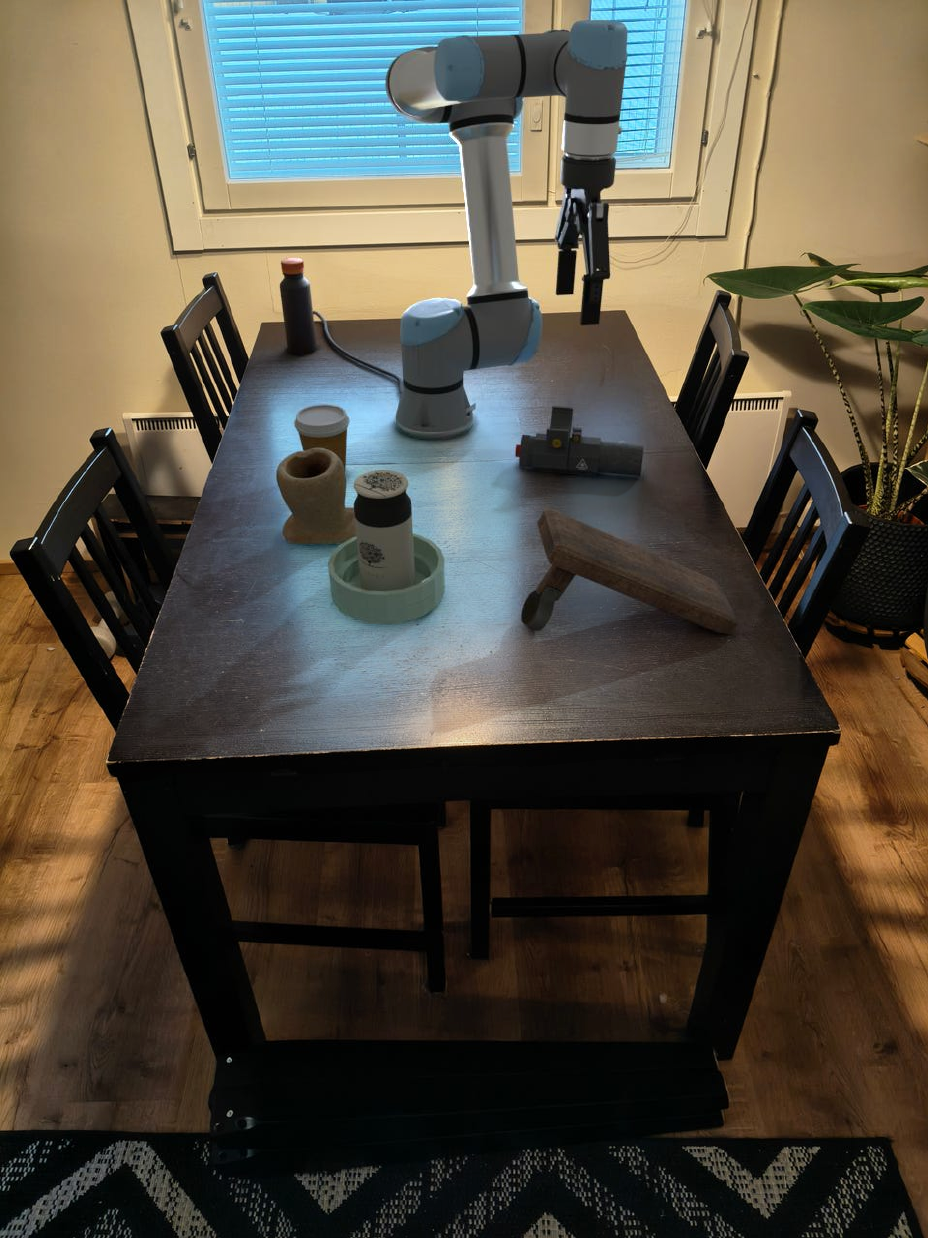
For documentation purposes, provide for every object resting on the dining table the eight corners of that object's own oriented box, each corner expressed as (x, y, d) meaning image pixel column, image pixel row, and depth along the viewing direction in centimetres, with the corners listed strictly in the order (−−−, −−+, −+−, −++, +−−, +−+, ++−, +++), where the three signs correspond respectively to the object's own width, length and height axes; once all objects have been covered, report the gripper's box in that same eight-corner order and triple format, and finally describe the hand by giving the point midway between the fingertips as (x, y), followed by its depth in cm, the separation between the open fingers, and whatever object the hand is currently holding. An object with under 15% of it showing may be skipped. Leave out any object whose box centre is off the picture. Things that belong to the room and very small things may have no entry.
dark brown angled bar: (659, 654, 142) (490, 588, 131) (720, 579, 134) (545, 503, 124) (677, 699, 133) (498, 632, 123) (742, 622, 126) (558, 544, 115)
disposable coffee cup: (364, 470, 166) (359, 408, 159) (336, 494, 159) (330, 430, 152) (319, 460, 170) (312, 399, 162) (290, 483, 163) (282, 420, 155)
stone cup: (276, 557, 144) (263, 472, 135) (290, 517, 153) (278, 436, 144) (372, 558, 143) (365, 473, 134) (380, 518, 153) (374, 436, 144)
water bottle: (314, 354, 211) (305, 265, 199) (285, 354, 211) (273, 265, 199) (318, 343, 216) (309, 256, 204) (290, 343, 216) (279, 256, 204)
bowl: (314, 583, 138) (310, 550, 134) (411, 552, 145) (409, 519, 141) (361, 642, 127) (358, 607, 123) (465, 605, 133) (464, 571, 130)
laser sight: (639, 489, 160) (645, 436, 154) (512, 478, 163) (513, 427, 157) (640, 463, 168) (647, 412, 162) (519, 453, 171) (520, 403, 165)
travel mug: (391, 568, 140) (384, 462, 129) (426, 589, 135) (422, 482, 124) (350, 589, 135) (339, 482, 124) (385, 612, 131) (377, 503, 120)
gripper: (645, 173, 117) (626, 336, 130) (589, 136, 136) (577, 281, 149) (589, 175, 116) (575, 339, 129) (540, 137, 135) (532, 283, 148)
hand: (576, 308), depth 139 cm, fingers open, 13 cm apart
